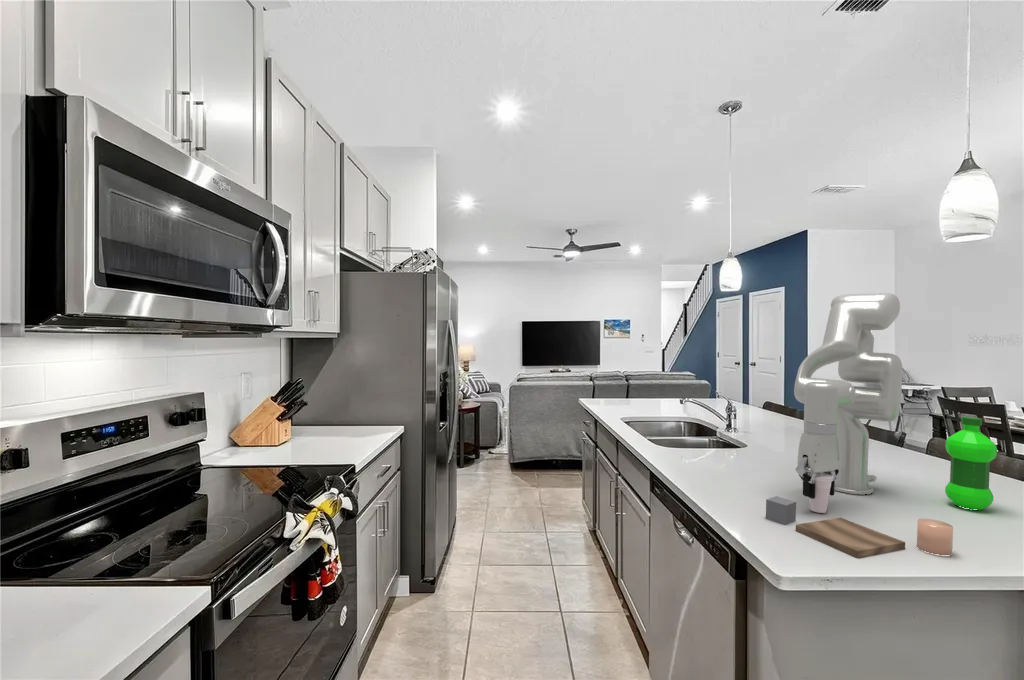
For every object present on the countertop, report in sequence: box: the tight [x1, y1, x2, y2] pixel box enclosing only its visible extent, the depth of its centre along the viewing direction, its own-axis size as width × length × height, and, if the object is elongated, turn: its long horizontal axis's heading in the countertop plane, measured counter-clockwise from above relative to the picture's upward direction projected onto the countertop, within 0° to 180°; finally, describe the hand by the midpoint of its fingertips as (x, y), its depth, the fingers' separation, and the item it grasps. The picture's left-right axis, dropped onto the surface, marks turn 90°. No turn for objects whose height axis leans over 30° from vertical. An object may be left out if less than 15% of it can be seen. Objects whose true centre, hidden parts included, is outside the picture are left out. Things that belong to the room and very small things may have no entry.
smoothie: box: [808, 472, 833, 514], centre depth 132 cm, size 6×6×14 cm
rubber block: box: [765, 495, 797, 526], centre depth 126 cm, size 5×5×5 cm
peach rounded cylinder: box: [916, 518, 954, 555], centre depth 109 cm, size 6×6×6 cm
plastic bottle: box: [944, 416, 998, 511], centre depth 137 cm, size 10×10×25 cm
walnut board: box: [795, 517, 906, 559], centre depth 115 cm, size 15×15×2 cm
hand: (818, 494), depth 132 cm, fingers closed on smoothie, 6 cm apart
